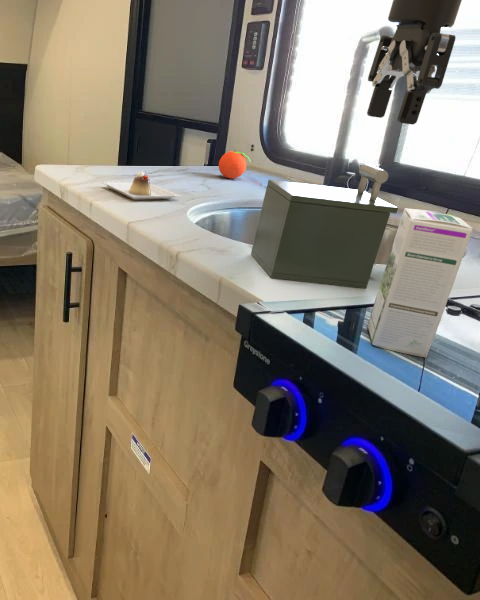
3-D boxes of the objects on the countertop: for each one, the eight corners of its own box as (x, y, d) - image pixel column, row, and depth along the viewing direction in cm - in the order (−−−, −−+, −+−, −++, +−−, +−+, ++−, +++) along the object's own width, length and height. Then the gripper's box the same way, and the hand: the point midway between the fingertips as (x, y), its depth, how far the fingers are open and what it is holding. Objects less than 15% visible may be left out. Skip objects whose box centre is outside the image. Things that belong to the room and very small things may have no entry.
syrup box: (428, 359, 63) (478, 227, 58) (369, 345, 65) (412, 216, 59) (418, 338, 69) (464, 215, 63) (363, 326, 70) (403, 205, 65)
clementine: (248, 179, 157) (254, 152, 154) (245, 183, 150) (252, 155, 148) (218, 174, 159) (223, 147, 156) (214, 177, 153) (219, 149, 150)
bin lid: (361, 195, 89) (372, 162, 87) (396, 213, 79) (408, 176, 77) (267, 184, 88) (275, 150, 86) (290, 201, 79) (300, 163, 77)
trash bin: (336, 263, 93) (356, 195, 89) (366, 288, 83) (390, 213, 79) (250, 254, 93) (267, 184, 88) (270, 278, 83) (290, 201, 79)
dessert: (180, 201, 122) (184, 177, 120) (131, 201, 116) (135, 177, 114) (146, 187, 132) (150, 165, 130) (100, 187, 126) (103, 164, 124)
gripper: (499, -19, 67) (447, 130, 73) (429, -7, 80) (390, 118, 86) (434, -28, 67) (388, 122, 73) (375, -15, 80) (340, 111, 86)
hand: (389, 120), depth 79 cm, fingers open, 8 cm apart
